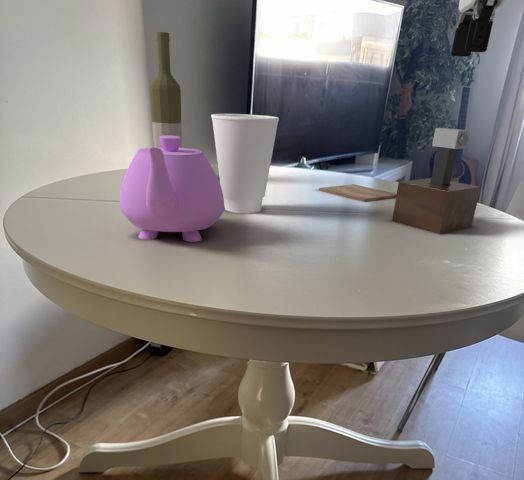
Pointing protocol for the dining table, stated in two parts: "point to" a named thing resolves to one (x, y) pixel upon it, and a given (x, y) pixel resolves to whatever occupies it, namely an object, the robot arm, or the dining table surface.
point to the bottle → (165, 96)
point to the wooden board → (358, 192)
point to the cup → (244, 158)
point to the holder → (435, 205)
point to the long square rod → (446, 153)
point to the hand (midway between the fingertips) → (467, 54)
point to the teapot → (171, 191)
